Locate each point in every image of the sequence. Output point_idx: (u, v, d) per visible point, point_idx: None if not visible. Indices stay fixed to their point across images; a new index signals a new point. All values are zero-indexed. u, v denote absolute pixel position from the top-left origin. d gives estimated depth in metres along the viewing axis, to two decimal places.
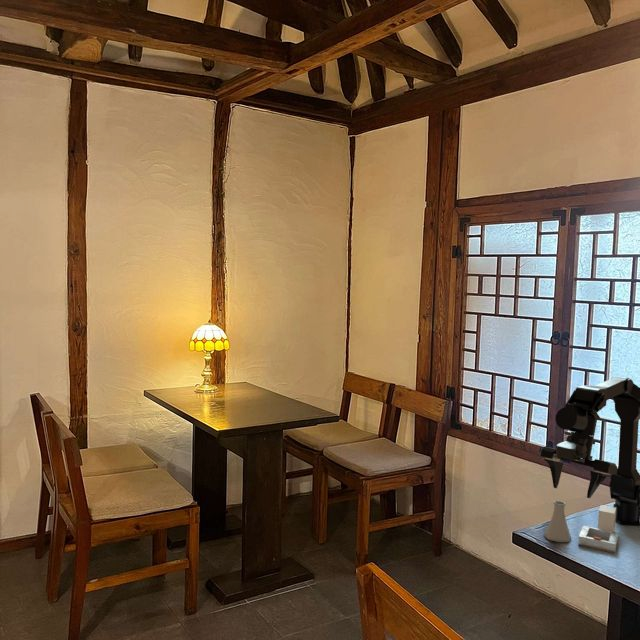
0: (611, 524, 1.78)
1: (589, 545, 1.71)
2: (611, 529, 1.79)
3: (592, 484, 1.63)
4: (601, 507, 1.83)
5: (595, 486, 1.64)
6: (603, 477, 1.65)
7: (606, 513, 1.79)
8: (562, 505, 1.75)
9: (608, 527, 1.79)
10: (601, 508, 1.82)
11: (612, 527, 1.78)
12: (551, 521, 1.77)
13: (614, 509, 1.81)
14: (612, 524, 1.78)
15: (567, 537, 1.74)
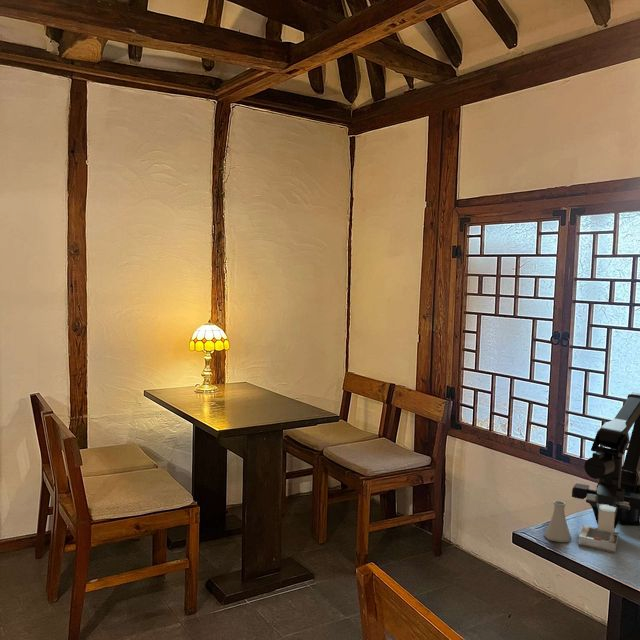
0: (611, 524, 1.78)
1: (589, 545, 1.71)
2: (611, 529, 1.79)
3: (618, 517, 1.79)
4: (601, 507, 1.82)
5: None
6: None
7: (606, 513, 1.79)
8: (562, 505, 1.75)
9: (608, 527, 1.79)
10: (601, 508, 1.82)
11: (612, 527, 1.78)
12: (551, 521, 1.77)
13: (614, 509, 1.81)
14: (612, 524, 1.78)
15: (567, 537, 1.74)
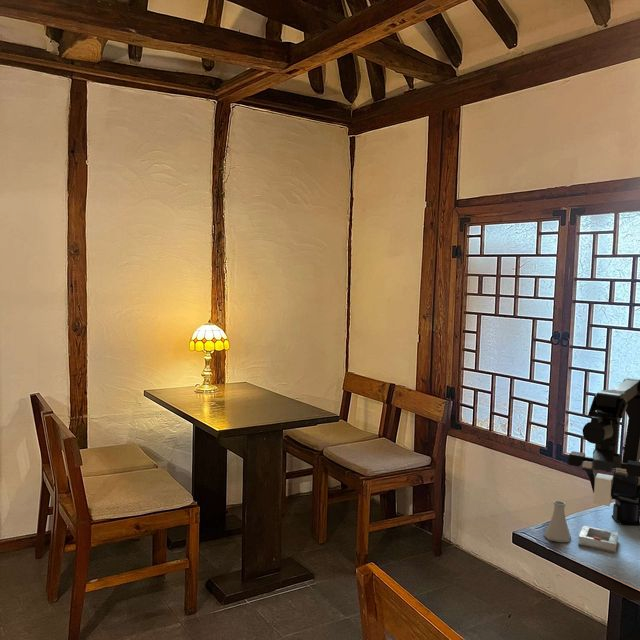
0: (608, 492, 1.72)
1: (589, 545, 1.71)
2: (608, 497, 1.72)
3: (615, 484, 1.72)
4: (597, 475, 1.76)
5: None
6: None
7: (603, 480, 1.73)
8: (562, 505, 1.75)
9: (605, 494, 1.72)
10: (597, 476, 1.75)
11: (609, 495, 1.72)
12: (551, 521, 1.77)
13: (611, 477, 1.75)
14: (609, 492, 1.72)
15: (567, 537, 1.74)
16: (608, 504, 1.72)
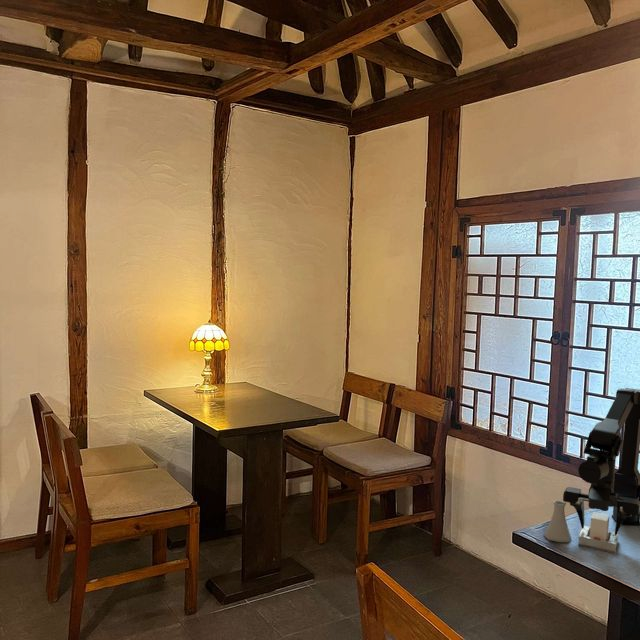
0: (604, 532, 1.71)
1: (589, 545, 1.71)
2: (604, 537, 1.71)
3: (619, 523, 1.70)
4: (593, 514, 1.75)
5: None
6: None
7: (599, 521, 1.71)
8: (562, 505, 1.75)
9: (601, 535, 1.71)
10: (593, 515, 1.74)
11: (605, 535, 1.71)
12: (551, 521, 1.77)
13: (607, 516, 1.74)
14: (605, 532, 1.71)
15: (567, 537, 1.74)
16: None
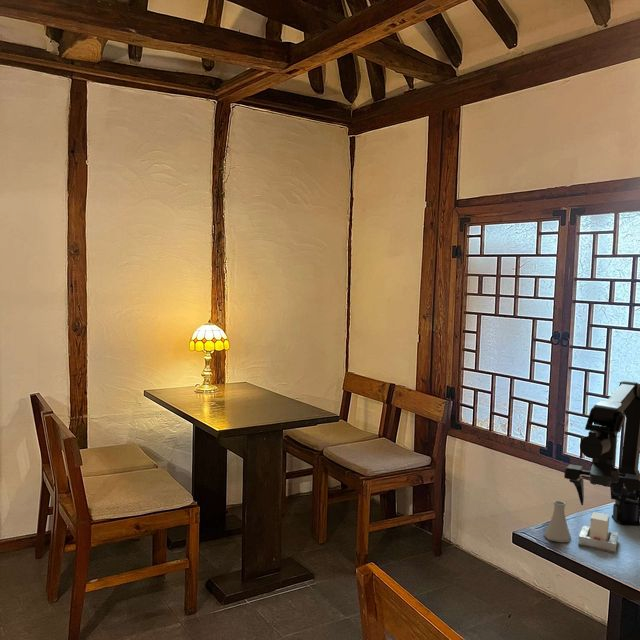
0: (604, 532, 1.71)
1: (589, 545, 1.71)
2: (604, 537, 1.71)
3: (623, 500, 1.70)
4: (593, 514, 1.75)
5: None
6: None
7: (599, 521, 1.71)
8: (562, 505, 1.75)
9: (601, 535, 1.71)
10: (593, 515, 1.74)
11: (605, 535, 1.71)
12: (551, 521, 1.77)
13: (607, 516, 1.74)
14: (605, 532, 1.71)
15: (567, 537, 1.74)
16: None
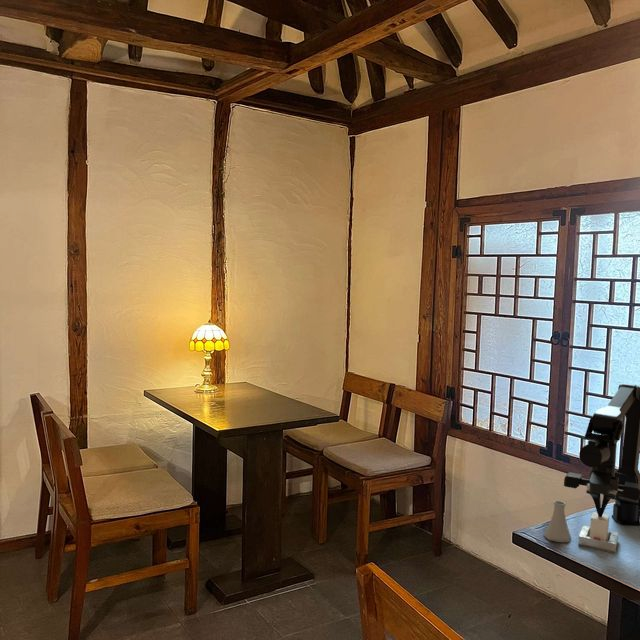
0: (604, 532, 1.71)
1: (589, 545, 1.71)
2: (604, 537, 1.71)
3: (605, 505, 1.72)
4: (593, 514, 1.75)
5: None
6: None
7: (599, 521, 1.71)
8: (562, 505, 1.75)
9: (601, 535, 1.71)
10: (593, 515, 1.74)
11: (605, 535, 1.71)
12: (551, 521, 1.77)
13: (607, 516, 1.74)
14: (605, 532, 1.71)
15: (567, 537, 1.74)
16: None
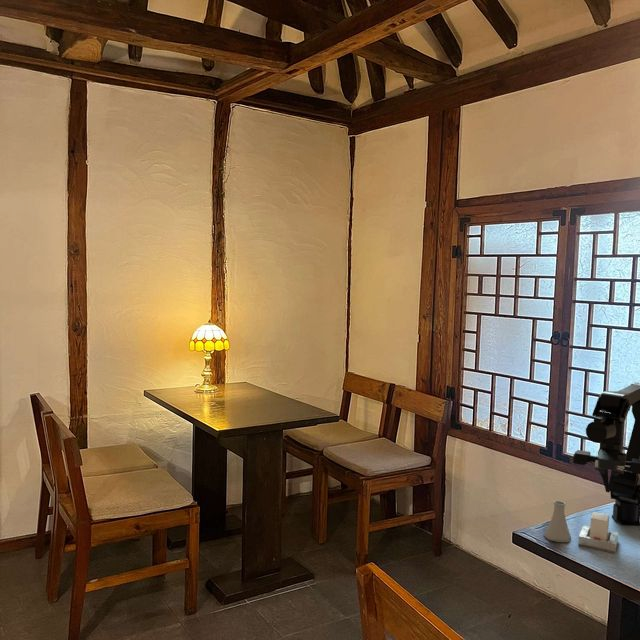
0: (604, 532, 1.71)
1: (589, 545, 1.71)
2: (604, 537, 1.71)
3: (612, 481, 1.79)
4: (593, 514, 1.75)
5: None
6: None
7: (599, 521, 1.71)
8: (562, 505, 1.75)
9: (601, 535, 1.71)
10: (593, 515, 1.74)
11: (605, 535, 1.71)
12: (551, 521, 1.77)
13: (607, 516, 1.74)
14: (605, 532, 1.71)
15: (567, 537, 1.74)
16: None
